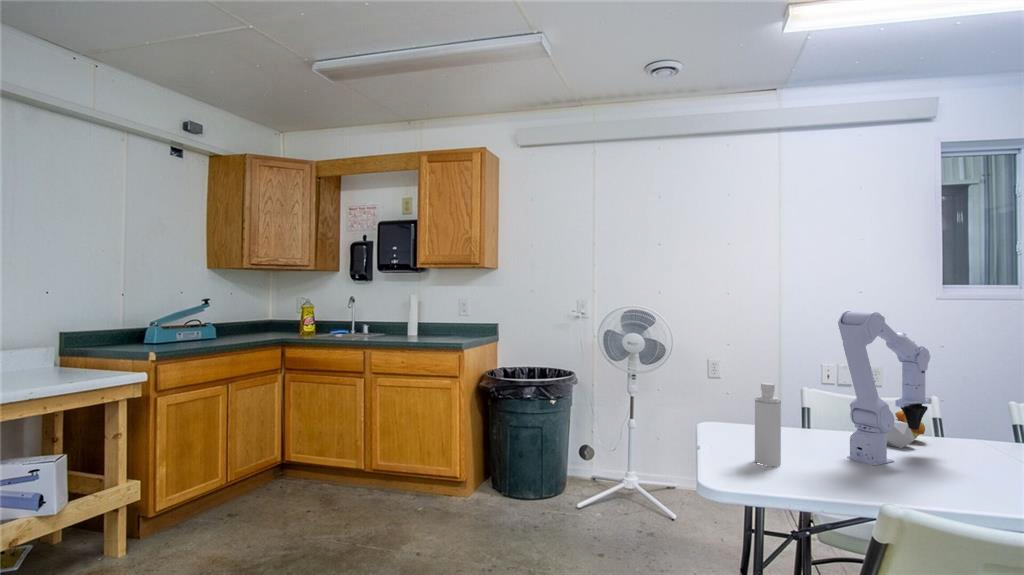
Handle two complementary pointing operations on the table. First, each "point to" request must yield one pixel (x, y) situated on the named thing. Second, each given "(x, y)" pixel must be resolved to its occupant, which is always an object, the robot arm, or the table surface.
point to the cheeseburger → (902, 418)
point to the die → (900, 435)
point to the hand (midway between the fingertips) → (913, 428)
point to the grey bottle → (768, 427)
